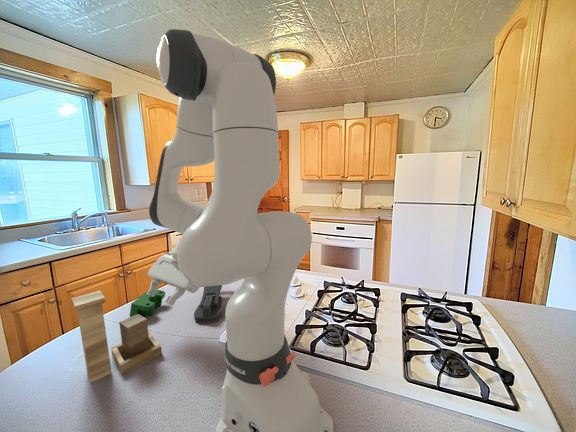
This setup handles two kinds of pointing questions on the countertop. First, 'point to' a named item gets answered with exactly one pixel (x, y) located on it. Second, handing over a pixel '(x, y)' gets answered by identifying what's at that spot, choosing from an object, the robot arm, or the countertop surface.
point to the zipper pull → (209, 305)
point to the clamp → (146, 303)
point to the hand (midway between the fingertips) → (158, 299)
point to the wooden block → (134, 336)
